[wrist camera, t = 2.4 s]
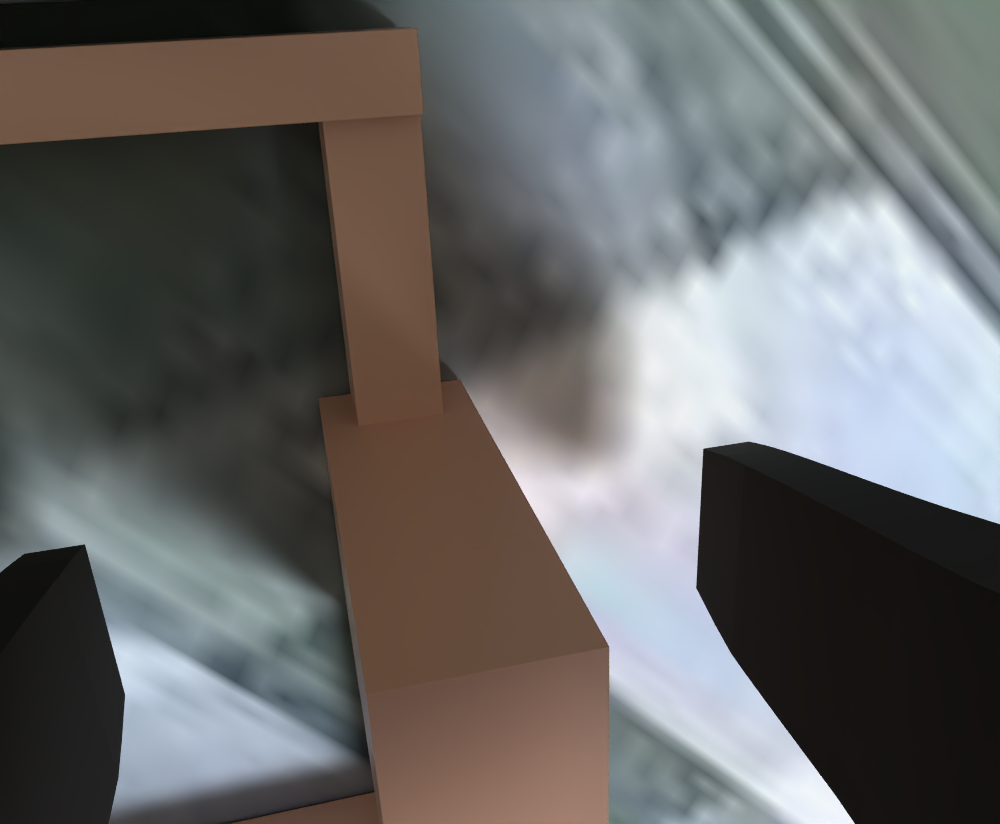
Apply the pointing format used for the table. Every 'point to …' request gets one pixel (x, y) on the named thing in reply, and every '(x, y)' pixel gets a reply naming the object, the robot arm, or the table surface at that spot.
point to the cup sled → (386, 436)
